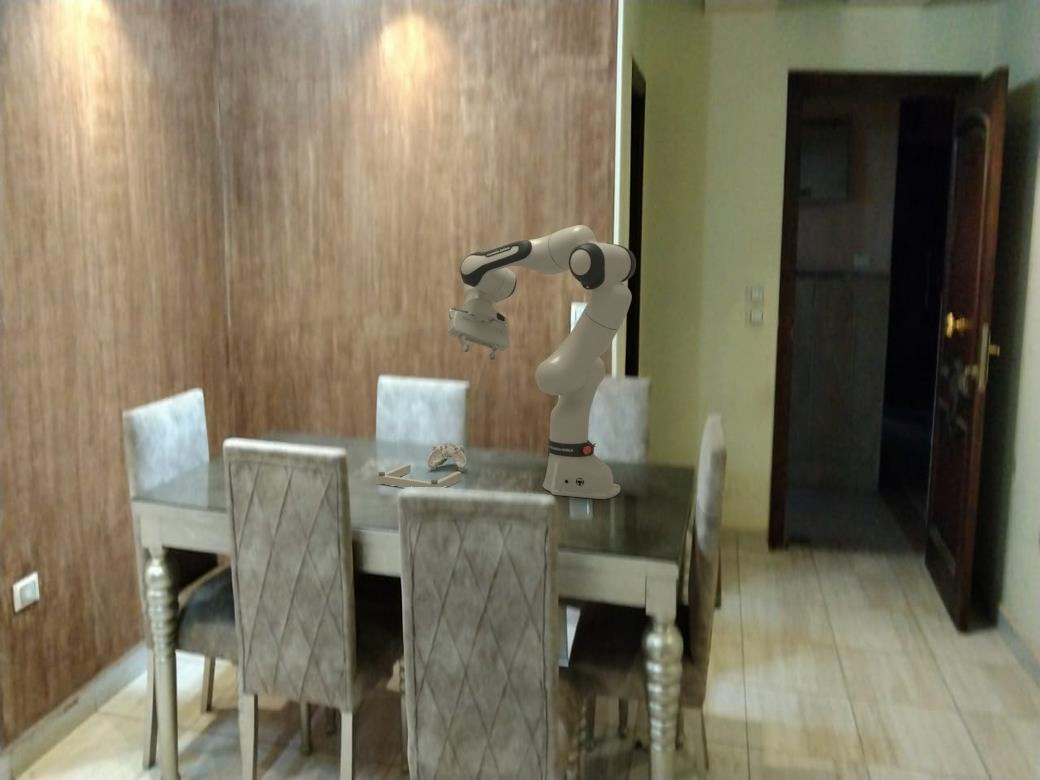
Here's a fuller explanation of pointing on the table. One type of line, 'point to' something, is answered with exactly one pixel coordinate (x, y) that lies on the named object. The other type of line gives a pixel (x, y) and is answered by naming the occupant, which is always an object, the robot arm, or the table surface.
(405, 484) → the bent beige bar frame
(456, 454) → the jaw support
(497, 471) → the table surface
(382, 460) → the table surface
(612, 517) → the table surface
